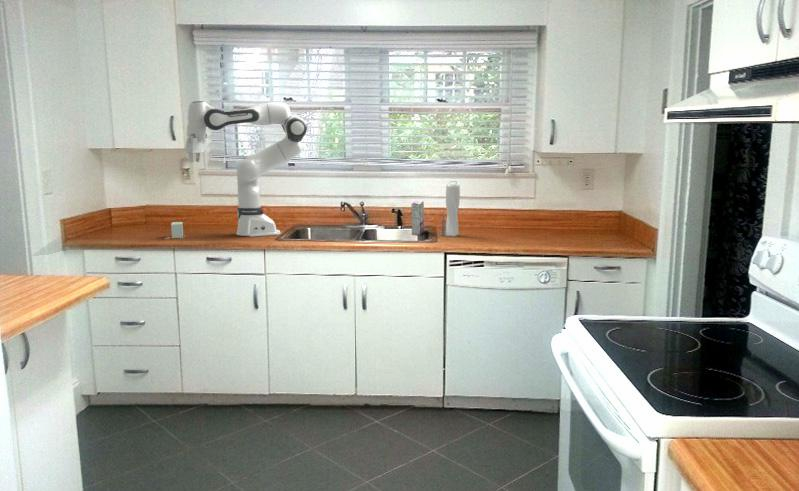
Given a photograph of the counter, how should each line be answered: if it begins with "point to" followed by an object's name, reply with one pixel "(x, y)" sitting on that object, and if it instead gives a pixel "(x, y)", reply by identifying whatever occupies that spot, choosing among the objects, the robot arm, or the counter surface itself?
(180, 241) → the counter surface
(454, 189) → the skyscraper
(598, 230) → the counter surface
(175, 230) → the sage block
